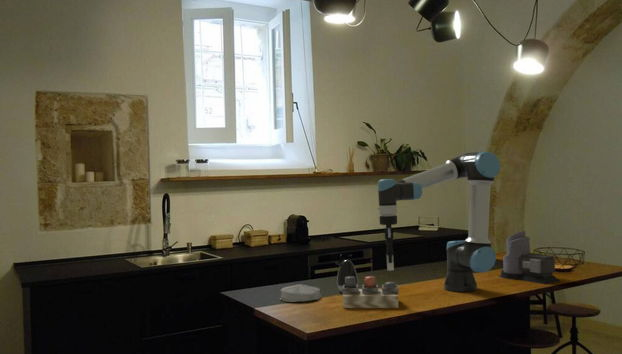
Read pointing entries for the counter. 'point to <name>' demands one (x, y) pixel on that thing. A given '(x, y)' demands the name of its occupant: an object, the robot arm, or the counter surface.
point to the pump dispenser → (345, 273)
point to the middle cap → (369, 281)
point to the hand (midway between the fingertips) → (390, 270)
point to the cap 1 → (350, 282)
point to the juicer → (526, 262)
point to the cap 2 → (389, 284)
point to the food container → (299, 293)
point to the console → (370, 297)
